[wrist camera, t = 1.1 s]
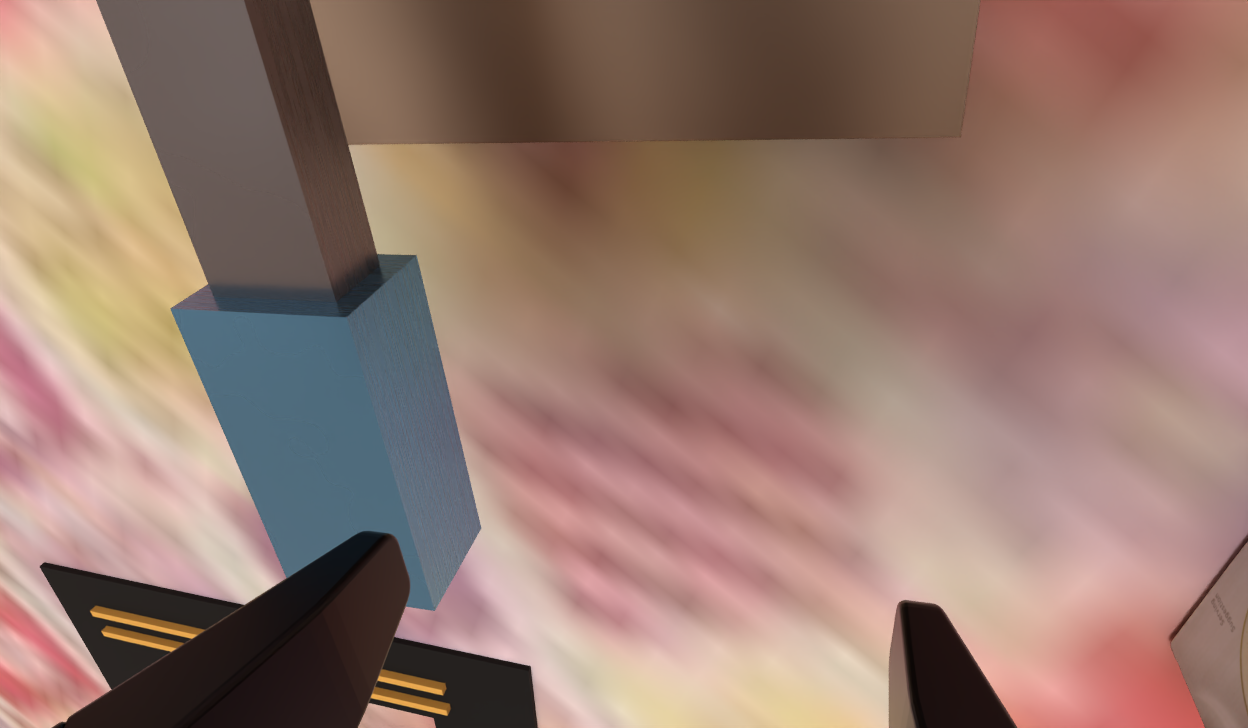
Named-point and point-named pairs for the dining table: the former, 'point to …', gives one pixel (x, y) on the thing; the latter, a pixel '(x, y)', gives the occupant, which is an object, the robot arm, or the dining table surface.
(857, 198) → the dining table surface
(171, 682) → the robot arm
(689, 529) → the dining table surface
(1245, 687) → the coffee box
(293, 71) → the lever
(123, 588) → the sushi
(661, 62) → the valve board
